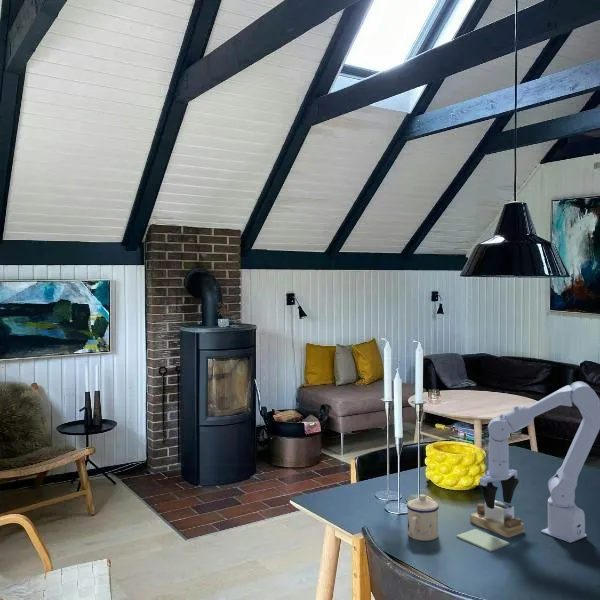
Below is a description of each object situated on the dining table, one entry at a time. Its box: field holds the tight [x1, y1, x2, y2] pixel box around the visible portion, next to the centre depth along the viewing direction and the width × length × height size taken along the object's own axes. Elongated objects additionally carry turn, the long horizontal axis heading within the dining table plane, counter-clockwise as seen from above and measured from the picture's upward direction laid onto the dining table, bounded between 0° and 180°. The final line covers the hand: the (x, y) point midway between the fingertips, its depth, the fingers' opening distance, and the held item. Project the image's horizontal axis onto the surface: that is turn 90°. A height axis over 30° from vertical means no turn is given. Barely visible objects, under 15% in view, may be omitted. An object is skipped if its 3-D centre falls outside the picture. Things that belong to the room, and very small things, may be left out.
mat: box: [456, 528, 510, 553], centre depth 176 cm, size 12×8×1 cm, turn 33°
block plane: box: [469, 503, 525, 539], centre depth 185 cm, size 14×7×5 cm, turn 33°
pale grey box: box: [484, 499, 515, 525], centre depth 184 cm, size 7×4×5 cm, turn 33°
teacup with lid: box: [406, 493, 440, 542], centre depth 179 cm, size 12×9×12 cm
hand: (498, 505), depth 184 cm, fingers open, 7 cm apart
